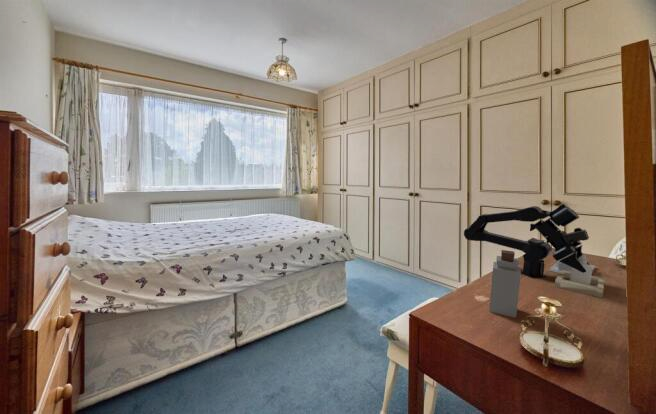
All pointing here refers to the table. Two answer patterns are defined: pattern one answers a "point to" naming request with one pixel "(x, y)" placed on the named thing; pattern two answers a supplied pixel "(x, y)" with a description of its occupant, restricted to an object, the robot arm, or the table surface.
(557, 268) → the silver tray
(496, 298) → the perfume bottle
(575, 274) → the eye dropper bottle
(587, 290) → the beige square frame
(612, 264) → the table surface
